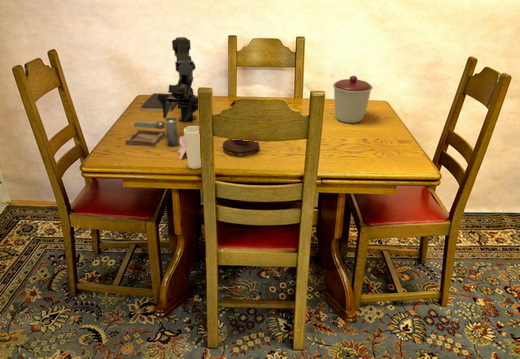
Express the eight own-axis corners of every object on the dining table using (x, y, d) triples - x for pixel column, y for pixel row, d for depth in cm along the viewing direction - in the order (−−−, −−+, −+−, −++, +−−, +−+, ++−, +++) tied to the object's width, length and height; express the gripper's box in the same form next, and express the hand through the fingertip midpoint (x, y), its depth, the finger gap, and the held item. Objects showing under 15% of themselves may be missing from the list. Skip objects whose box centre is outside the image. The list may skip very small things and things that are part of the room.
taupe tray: (137, 134, 201) (137, 129, 199) (165, 136, 199) (164, 131, 198) (126, 145, 190) (125, 140, 189) (154, 147, 188) (154, 142, 187)
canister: (366, 128, 208) (371, 83, 198) (326, 123, 213) (330, 79, 203) (370, 115, 223) (375, 72, 213) (333, 111, 228) (337, 69, 218)
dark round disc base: (216, 147, 188) (214, 100, 178) (247, 140, 195) (247, 94, 185) (233, 160, 177) (232, 111, 167) (265, 152, 183) (266, 105, 174)
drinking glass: (201, 171, 168) (198, 133, 161) (183, 169, 169) (180, 131, 162) (206, 163, 174) (204, 126, 167) (189, 161, 175) (187, 125, 168)
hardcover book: (140, 111, 227) (139, 107, 226) (154, 97, 248) (153, 93, 246) (171, 112, 226) (171, 108, 225) (182, 98, 246) (182, 94, 245)
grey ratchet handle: (133, 127, 207) (133, 122, 206) (137, 124, 210) (136, 119, 209) (163, 129, 205) (162, 124, 204) (166, 126, 208) (165, 121, 207)
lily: (182, 148, 189) (170, 132, 182) (208, 139, 186) (196, 123, 179) (180, 169, 180) (167, 152, 174) (206, 160, 177) (194, 143, 171)
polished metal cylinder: (169, 142, 192) (167, 117, 187) (180, 142, 191) (178, 118, 186) (165, 146, 188) (163, 121, 183) (176, 147, 187) (174, 122, 182)
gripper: (156, 74, 186) (145, 108, 182) (198, 78, 182) (188, 113, 177) (166, 87, 197) (157, 120, 193) (206, 91, 192) (197, 125, 188)
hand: (174, 119), depth 187 cm, fingers open, 9 cm apart
